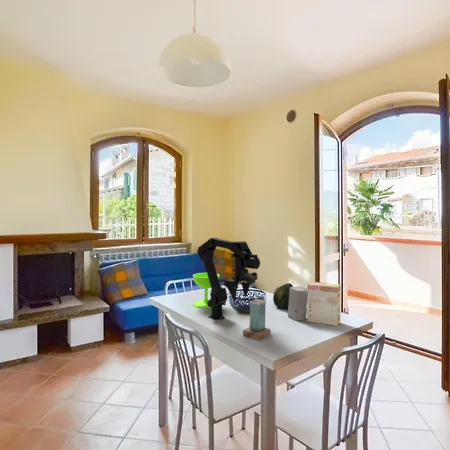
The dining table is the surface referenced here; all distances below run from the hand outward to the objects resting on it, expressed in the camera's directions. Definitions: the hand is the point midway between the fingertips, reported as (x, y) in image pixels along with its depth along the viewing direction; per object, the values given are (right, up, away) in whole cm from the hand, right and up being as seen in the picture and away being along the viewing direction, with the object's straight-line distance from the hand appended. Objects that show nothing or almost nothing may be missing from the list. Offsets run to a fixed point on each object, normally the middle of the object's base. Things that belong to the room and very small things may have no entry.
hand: (240, 298), depth 163 cm
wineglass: (-19, -12, +36) cm, 43 cm away
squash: (+29, -12, +32) cm, 45 cm away
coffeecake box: (+43, -13, +5) cm, 45 cm away
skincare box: (+31, -13, +11) cm, 35 cm away
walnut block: (+7, -14, -14) cm, 21 cm away
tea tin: (+7, -11, -14) cm, 19 cm away
